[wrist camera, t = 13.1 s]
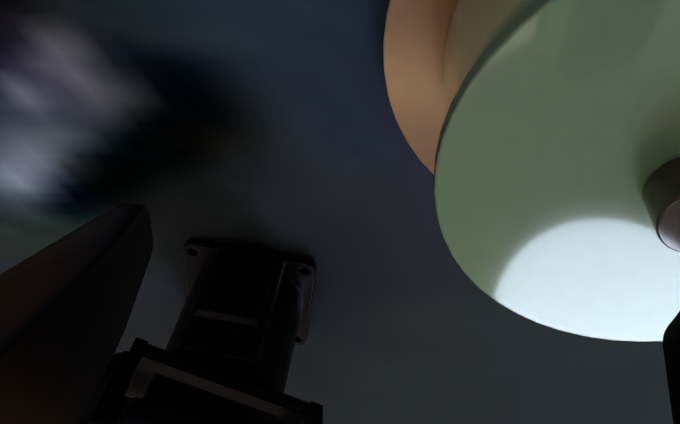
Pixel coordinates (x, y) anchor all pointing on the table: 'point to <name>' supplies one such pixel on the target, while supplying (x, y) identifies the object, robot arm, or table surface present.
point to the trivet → (417, 70)
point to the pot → (565, 160)
